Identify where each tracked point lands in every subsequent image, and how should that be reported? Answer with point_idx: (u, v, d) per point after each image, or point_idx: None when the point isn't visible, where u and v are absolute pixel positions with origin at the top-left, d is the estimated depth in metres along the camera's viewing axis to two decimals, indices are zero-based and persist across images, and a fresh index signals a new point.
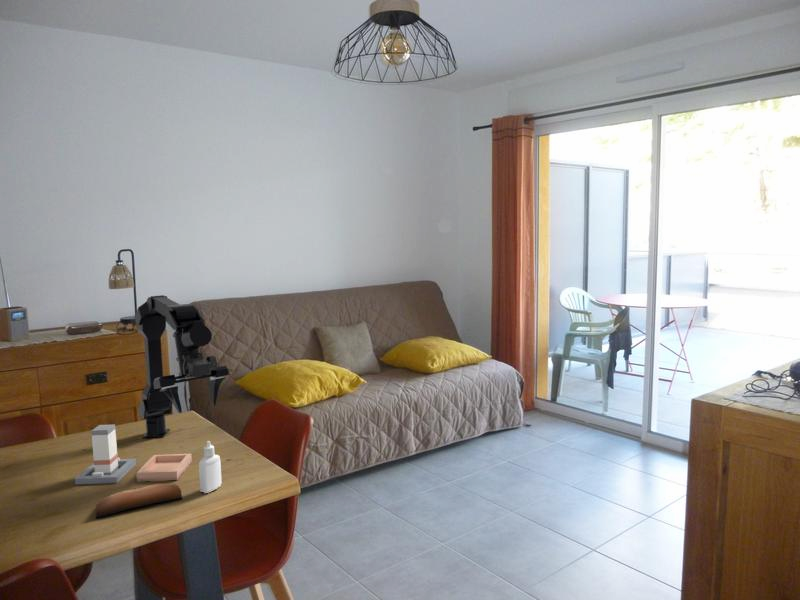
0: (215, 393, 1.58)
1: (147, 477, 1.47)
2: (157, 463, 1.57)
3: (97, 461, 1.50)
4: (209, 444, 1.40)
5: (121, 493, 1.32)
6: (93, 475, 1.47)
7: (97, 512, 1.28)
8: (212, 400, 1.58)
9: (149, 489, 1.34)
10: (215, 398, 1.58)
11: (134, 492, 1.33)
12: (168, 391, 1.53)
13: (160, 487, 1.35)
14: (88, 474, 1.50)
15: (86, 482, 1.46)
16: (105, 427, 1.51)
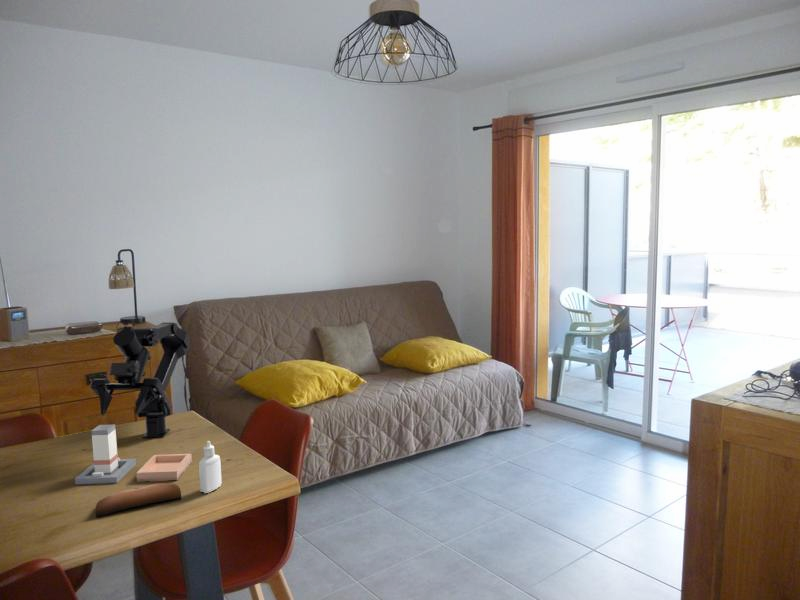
0: (139, 401, 1.60)
1: (147, 477, 1.47)
2: (157, 463, 1.57)
3: (97, 461, 1.50)
4: (209, 444, 1.40)
5: (121, 492, 1.33)
6: (93, 475, 1.47)
7: (97, 511, 1.28)
8: None
9: (149, 489, 1.34)
10: (137, 406, 1.59)
11: (134, 491, 1.33)
12: None
13: (160, 487, 1.36)
14: (88, 474, 1.50)
15: (86, 482, 1.46)
16: (105, 427, 1.51)
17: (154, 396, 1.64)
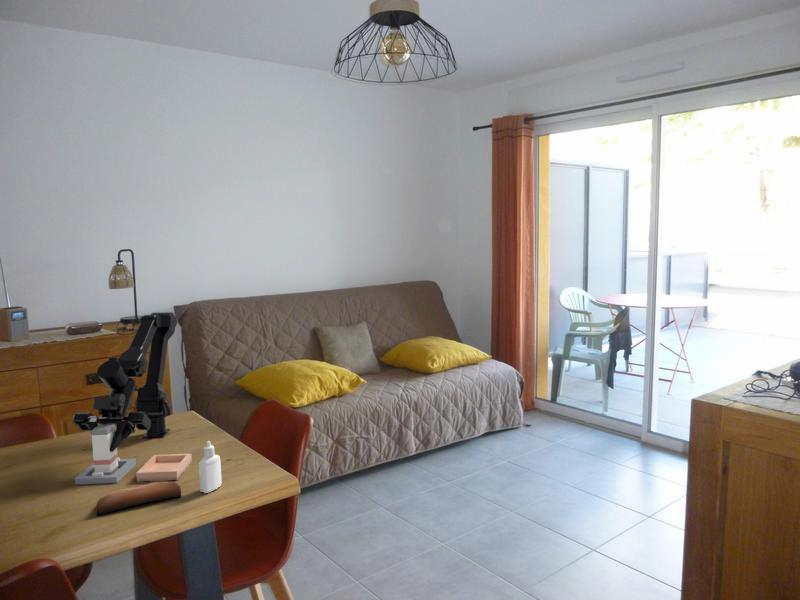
0: (114, 437, 1.51)
1: (147, 477, 1.47)
2: (157, 463, 1.57)
3: (97, 461, 1.50)
4: (209, 444, 1.40)
5: (121, 491, 1.34)
6: (93, 475, 1.47)
7: (97, 509, 1.29)
8: None
9: (149, 487, 1.35)
10: (112, 443, 1.51)
11: (134, 490, 1.34)
12: None
13: (160, 485, 1.36)
14: (88, 474, 1.50)
15: (86, 482, 1.46)
16: (105, 427, 1.51)
17: (131, 431, 1.56)
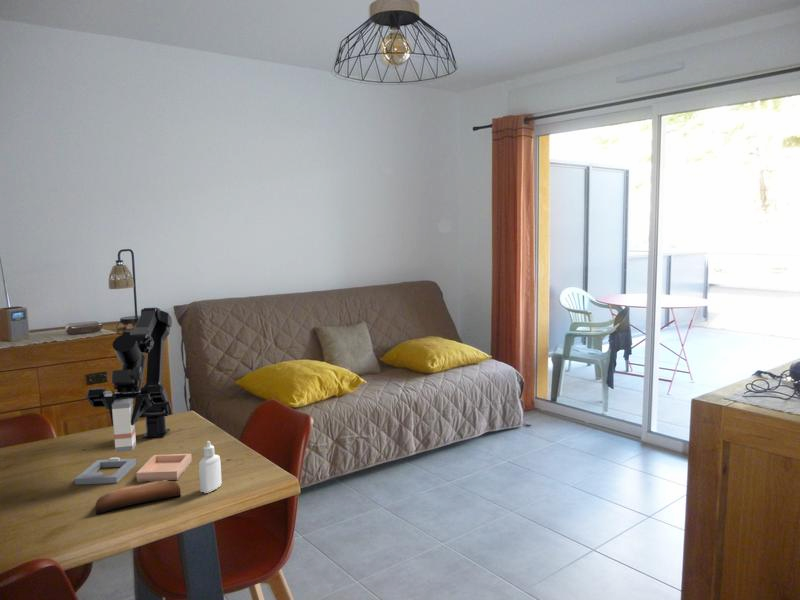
0: (134, 411, 1.51)
1: (147, 477, 1.47)
2: (157, 463, 1.57)
3: (118, 435, 1.48)
4: (209, 444, 1.40)
5: (121, 490, 1.34)
6: (93, 475, 1.47)
7: (97, 508, 1.30)
8: None
9: (148, 486, 1.36)
10: (133, 416, 1.50)
11: (134, 489, 1.35)
12: None
13: (160, 484, 1.37)
14: (88, 474, 1.50)
15: (86, 482, 1.46)
16: (124, 400, 1.50)
17: (148, 405, 1.55)
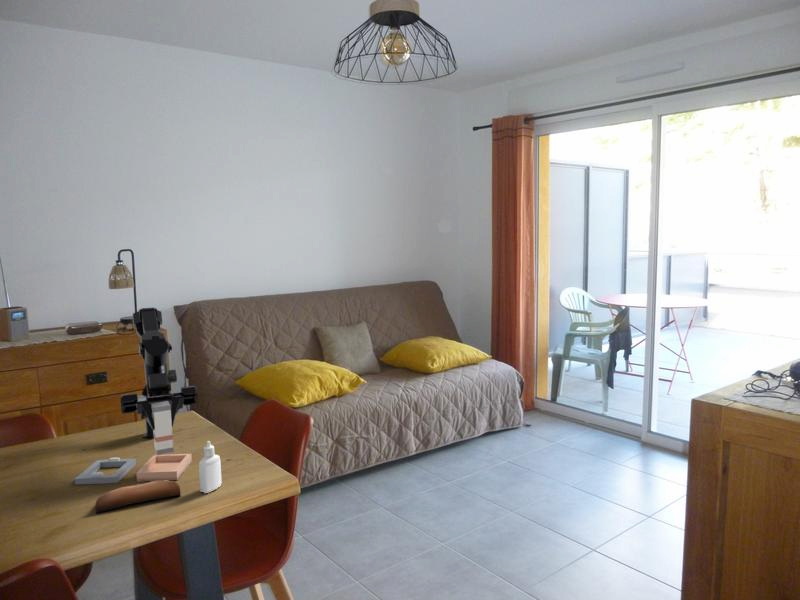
0: (172, 413, 1.53)
1: (147, 477, 1.47)
2: (157, 463, 1.57)
3: (159, 438, 1.50)
4: (209, 444, 1.40)
5: (121, 489, 1.35)
6: (93, 475, 1.47)
7: (97, 507, 1.30)
8: None
9: (148, 486, 1.36)
10: (172, 418, 1.52)
11: (134, 488, 1.35)
12: (144, 411, 1.53)
13: (160, 484, 1.37)
14: (88, 474, 1.50)
15: (86, 482, 1.46)
16: (162, 403, 1.52)
17: (180, 407, 1.58)
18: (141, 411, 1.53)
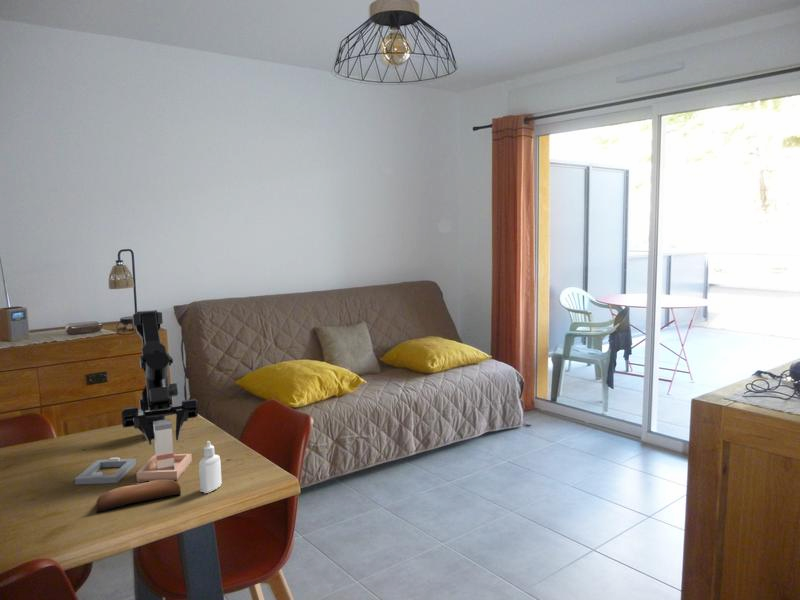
0: (177, 426, 1.54)
1: (147, 477, 1.47)
2: None
3: (160, 456, 1.50)
4: (209, 444, 1.40)
5: (121, 488, 1.35)
6: (93, 475, 1.47)
7: (97, 506, 1.30)
8: None
9: (149, 485, 1.37)
10: (177, 431, 1.53)
11: (134, 487, 1.35)
12: (141, 426, 1.53)
13: (160, 483, 1.38)
14: (88, 474, 1.50)
15: (86, 482, 1.46)
16: (164, 421, 1.52)
17: (185, 419, 1.59)
18: (138, 425, 1.53)
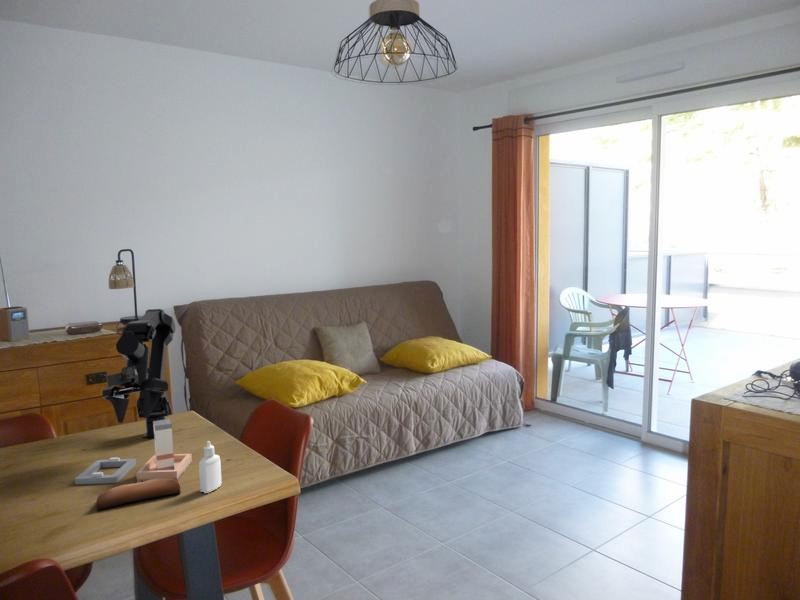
0: (144, 405, 1.58)
1: (147, 477, 1.47)
2: None
3: (160, 456, 1.50)
4: (209, 444, 1.40)
5: (121, 487, 1.36)
6: (93, 475, 1.47)
7: (97, 505, 1.31)
8: None
9: (149, 484, 1.37)
10: (144, 410, 1.57)
11: (134, 486, 1.36)
12: None
13: (160, 482, 1.38)
14: (88, 474, 1.50)
15: (86, 482, 1.46)
16: (164, 421, 1.52)
17: (160, 394, 1.61)
18: None
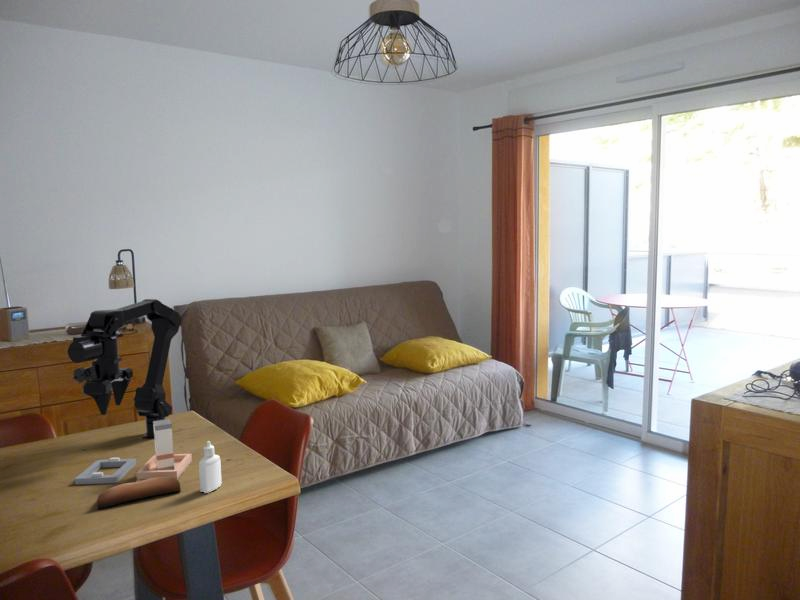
0: None
1: (147, 477, 1.47)
2: None
3: (160, 456, 1.50)
4: (209, 444, 1.40)
5: (122, 485, 1.37)
6: (93, 475, 1.47)
7: (98, 503, 1.32)
8: None
9: (149, 482, 1.38)
10: None
11: (134, 484, 1.37)
12: None
13: (160, 480, 1.39)
14: (88, 474, 1.50)
15: (86, 482, 1.46)
16: (164, 421, 1.52)
17: None
18: None
